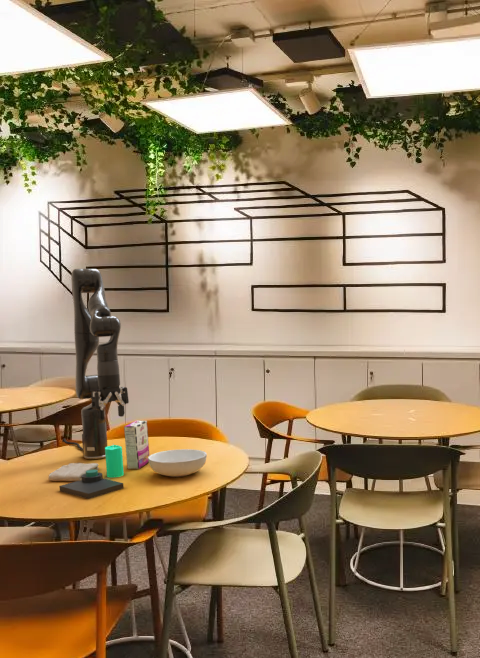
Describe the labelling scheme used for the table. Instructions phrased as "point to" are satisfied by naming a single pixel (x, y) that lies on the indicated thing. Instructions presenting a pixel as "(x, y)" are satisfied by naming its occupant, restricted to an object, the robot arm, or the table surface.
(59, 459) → the table surface
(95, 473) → the button
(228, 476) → the table surface
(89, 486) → the scale
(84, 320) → the robot arm
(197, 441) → the table surface
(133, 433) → the candy bar box
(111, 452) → the candle
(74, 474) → the washcloth
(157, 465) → the serving bowl
